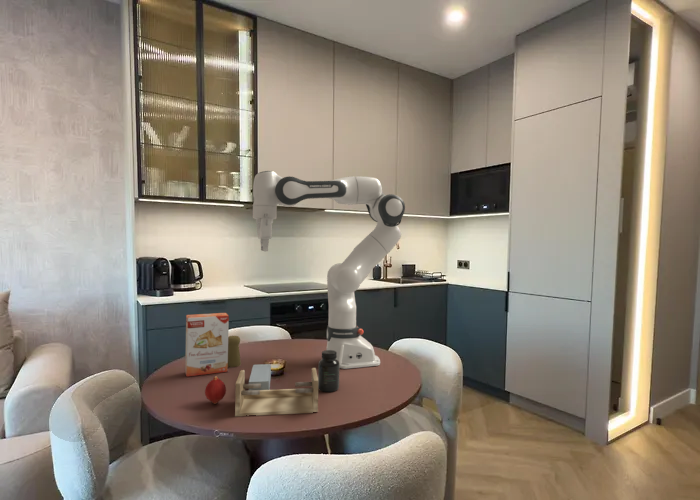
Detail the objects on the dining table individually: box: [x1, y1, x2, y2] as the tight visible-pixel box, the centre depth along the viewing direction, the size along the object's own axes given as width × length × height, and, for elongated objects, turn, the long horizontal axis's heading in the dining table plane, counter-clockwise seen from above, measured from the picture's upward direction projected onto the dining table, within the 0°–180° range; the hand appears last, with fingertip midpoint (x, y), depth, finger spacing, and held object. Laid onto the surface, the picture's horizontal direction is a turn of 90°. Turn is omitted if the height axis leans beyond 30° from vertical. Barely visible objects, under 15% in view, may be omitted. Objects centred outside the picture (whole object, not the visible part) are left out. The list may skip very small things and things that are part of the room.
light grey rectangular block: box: [248, 363, 272, 390], centre depth 128 cm, size 17×6×5 cm, turn 9°
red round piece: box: [204, 376, 227, 405], centre depth 114 cm, size 6×6×8 cm
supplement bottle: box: [317, 350, 340, 393], centre depth 128 cm, size 7×7×12 cm
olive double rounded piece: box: [228, 335, 242, 368], centre depth 150 cm, size 6×6×11 cm
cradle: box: [234, 367, 319, 417], centre depth 113 cm, size 22×11×9 cm, turn 99°
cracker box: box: [184, 312, 230, 377], centre depth 141 cm, size 14×6×21 cm, turn 118°
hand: (264, 251), depth 148 cm, fingers open, 8 cm apart
